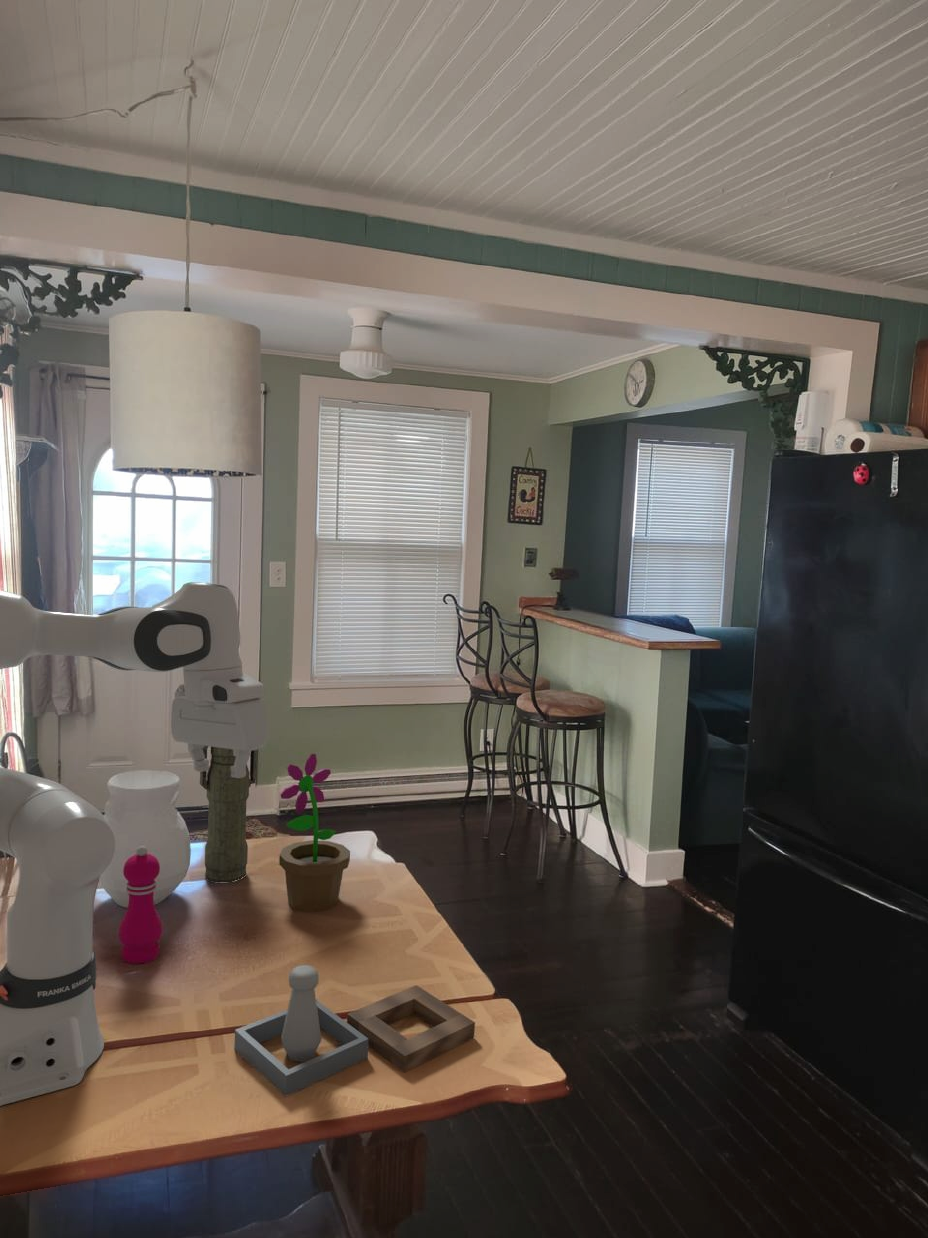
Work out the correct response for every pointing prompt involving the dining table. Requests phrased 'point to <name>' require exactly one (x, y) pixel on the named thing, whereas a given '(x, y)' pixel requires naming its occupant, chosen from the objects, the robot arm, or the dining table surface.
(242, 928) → the dining table surface
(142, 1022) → the dining table surface
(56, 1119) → the dining table surface
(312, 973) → the salt shaker
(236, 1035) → the blue square frame
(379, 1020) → the brown square frame
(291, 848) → the flowerpot
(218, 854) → the thermos
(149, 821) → the pitcher
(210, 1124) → the dining table surface
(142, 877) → the pepper mill
